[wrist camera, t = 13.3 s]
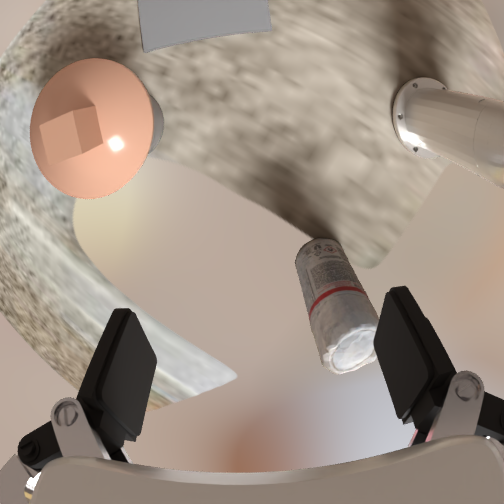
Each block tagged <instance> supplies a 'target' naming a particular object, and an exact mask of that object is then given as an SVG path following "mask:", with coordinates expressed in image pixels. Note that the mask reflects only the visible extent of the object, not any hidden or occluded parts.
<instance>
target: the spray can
mask: <svg viewBox="0 0 504 504" xmlns="http://www.w3.org/2000/svg"><path fill="white" fill-rule="evenodd" d="M295 264H296V269H297V273H298V276H299V280H300V284H301V287H302V292H303V296H304V300H305V304H306V307H307V312H308V315H309V320H310V326H311V330H312V333H313V335H314V338H315V342H316V345H317V348H318V351H319V355H320V359H321V362H322V365H323V366H324V367H325V368H327V369H328V370H329V371H331V372H333V373H334V374H342V373H345V372H348V371H354V370H357V369H358V368H359V367H361V366H363V365H365V364H367V363H371V362H373V361H375V359H376V357H377V355H376V352H375V350H374V346H373V340H374V336H375V333H376V329H377V326H378V322H379V318H378V315H377V313H376V311H375V309H374V307H373V306H372V304H371V302H370V300H369V298H368V296H367V294H366V292H365V291H364V289H363V287H362V285H361V283H360V282H359V280H358V278H357V276H356V274H355V272H354V270H353V268H352V267H351V265H350V263H349V261H348V258H347V256H346V255H345V253H344V250H343V248H342V246H341V245H340V244H339V243H338V242H337V241H334V240H331V239H320V238H319V239H313V240H311V241H309V242H308V243H306V244H304V245H303V246H302V248H301V249H300V250H299V252H298V254H297V257H296V260H295Z"/></svg>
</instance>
